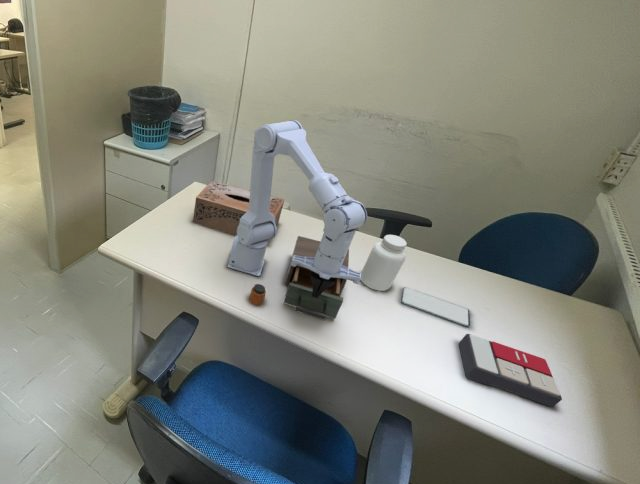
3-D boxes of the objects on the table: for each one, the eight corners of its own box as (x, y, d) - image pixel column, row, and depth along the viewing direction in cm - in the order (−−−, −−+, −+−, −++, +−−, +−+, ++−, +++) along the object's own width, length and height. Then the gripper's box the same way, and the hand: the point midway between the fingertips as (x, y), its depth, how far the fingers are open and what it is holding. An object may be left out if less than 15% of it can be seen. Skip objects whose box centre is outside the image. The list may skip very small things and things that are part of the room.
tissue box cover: (277, 224, 137) (284, 199, 132) (267, 245, 127) (273, 219, 121) (208, 204, 148) (211, 180, 143) (192, 222, 138) (196, 197, 132)
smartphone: (470, 326, 99) (401, 301, 106) (469, 327, 99) (400, 302, 106) (469, 309, 104) (403, 286, 111) (468, 311, 104) (403, 288, 111)
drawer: (334, 332, 96) (342, 314, 93) (280, 315, 101) (286, 296, 97) (337, 288, 109) (344, 270, 106) (289, 274, 114) (295, 257, 110)
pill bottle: (394, 293, 109) (417, 250, 101) (363, 289, 111) (383, 246, 102) (385, 275, 116) (405, 233, 107) (355, 271, 117) (374, 229, 109)
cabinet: (338, 300, 107) (347, 277, 102) (285, 284, 112) (292, 262, 107) (340, 270, 117) (349, 248, 112) (291, 257, 122) (298, 235, 117)
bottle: (247, 302, 106) (251, 289, 103) (250, 294, 108) (254, 281, 106) (261, 307, 104) (265, 294, 102) (264, 298, 107) (267, 285, 104)
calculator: (566, 398, 79) (476, 365, 85) (551, 409, 82) (465, 377, 87) (548, 357, 87) (467, 330, 93) (535, 369, 90) (458, 342, 95)
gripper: (295, 251, 88) (281, 295, 96) (368, 271, 83) (347, 316, 91) (299, 235, 94) (286, 278, 101) (367, 252, 88) (348, 296, 96)
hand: (315, 295), depth 96 cm, fingers closed
